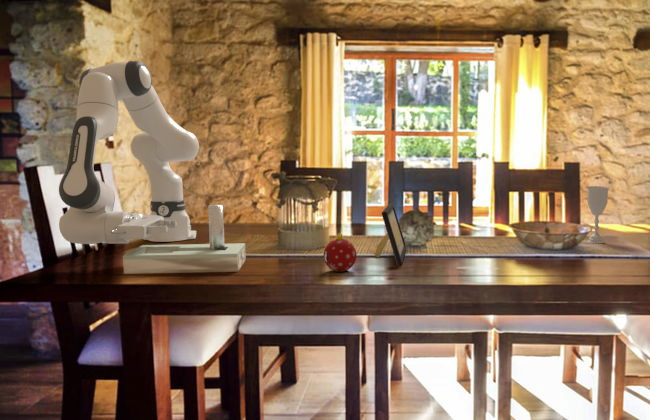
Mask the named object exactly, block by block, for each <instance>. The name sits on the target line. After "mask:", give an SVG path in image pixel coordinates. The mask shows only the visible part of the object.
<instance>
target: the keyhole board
mask: <svg viewBox="0 0 650 420" xmlns="http://www.w3.org/2000/svg"><path fill="white" fill-rule="evenodd" d="M224 244H225V250H211V251H210V243H198V244H196V243H195V244H193V243H191V244H190V243H188V244H183V243H182V244H145V245H144V244H142V245H139V246H138V247H137V248H135V249H133V250H131V251H129V252H128V253H125V254H123V255H122V261H123V262H122V265H123V274H125V275H127V274H128V275H129V274H130V275H132V274H133V275H135V274H177V273H179V274H182V273H185V274H188V273H189V274H190V273H233V272H234V273H236V272H237V273H238V272H239V271H240V269H241V268H242V266H243V265H244V263H245V262H246V260H247V258H246V256H247V255H246V243H245V242H244V243H243V242H242V243H237V242H236V243H224Z"/></svg>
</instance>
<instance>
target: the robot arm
mask: <svg viewBox="0 0 650 420" xmlns="http://www.w3.org/2000/svg"><path fill="white" fill-rule="evenodd" d="M152 79H153V78H152V74H151V71H150V69H149V68H148V67H147V65H145V64H144V63H142V62H141V61H139V60H129V61H123V62H114V63H108V64H105V65H102V66H101V65H100V66H98V67H90V68H88V69H86V70H84V71H83V72H82V73H81V75H80V77H79V82H78V84H79V92H78V96H77V105H76V106H77V108H76V118H75V124H74V125H73V130H72V132H71V133H72V134H71V139H70V144H69V145H70V147H69V153H68V160H67V165H66V168H65V171H64V174H63V176H62V178H61V179H60V182H59V184H58V185H59V186H58V194H59V198H60V199H61V201H62V202H63V203H64V204H65V205H67V206H68V209H67V210H66V211H65V213H64V214H63V215H61V216H60V218H59V221H58V227H59V232H60V233H61V236H62V237H63V238H64V240H65V241H67V242H69V243H73V244H81V245H96V244H100V243H105V244H109V245H111V244H129V243H130V241H131V240H142V239H143V240H144V241H150V242H157V243H158V242H159V243H160V242H161V243H163V242H166V243H167V242H180V241H186V240H194V239H196V237H197V230H192V227H193V226H192V225H191V221H190V217H189V215H188V213H187V211H186V208H187V207H186V200H185V199H184V191H183V190H184V189H183V187H184V186H183V178H182V177H181V176H180V175H179V174H178V173H176V172H174V170H172V168H171V166H170V163H181V162H186V161H191V160H194V159H195V158H196V157H197V156H198V153H199V149H200V143H199V140H198V137H197V136H196V135H195V134H194V133H193V132H191V131H189V130H186V129H184V128H183V127H182V126H181V125H179V124H178V122H176V121H175V120H174V119H172V117H171V116H170V115H169V113H168V112H167V111H166V109H165V107H164V106H163V104H162V102H161V99H160V97H159V96H158V93H157V91H156V90H155V87H154V86H153V85H152V84H153V83H152V82H153V80H152ZM119 101H122V103H123V105H124V106H125V108H126V110H127V112H128V114H129V116H130V117H131V120H132V121H133V123H134V125H135V126H136V127H137V128H138V129H139V130H140V131H141V133H137V134H135V136H133V138H132V140H131V142H130V150H131V151H130V152H131V153H132V155H133V157H134V158H135V159H136V160H138V161H139V162H140V163H141V164H142V166H143V168H144V169H145V171H146V173H147V175H148V179H149V184H150V195H151V197H150V198H151V201H150V205H149V206H150V211H151V212H150V214H137V212H133V211H132V212H129V211H128V210H126V211H114V205H115V200H116V199H115V193H114V192H115V191H114V190H113V189H112V188H111V187H110V186H109V185H108V184H106V182H104V181H102V180H101V179H99V178H98V177H97V175H96V172H95V170H94V167H95V165H94V164H95V158H96V150H97V144H98V142H99V141H100V140H101V141H102V140H106V139H108V138H110V137H111V136H113V135H114V133H116V131H117V126H118V120H119Z"/></svg>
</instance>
